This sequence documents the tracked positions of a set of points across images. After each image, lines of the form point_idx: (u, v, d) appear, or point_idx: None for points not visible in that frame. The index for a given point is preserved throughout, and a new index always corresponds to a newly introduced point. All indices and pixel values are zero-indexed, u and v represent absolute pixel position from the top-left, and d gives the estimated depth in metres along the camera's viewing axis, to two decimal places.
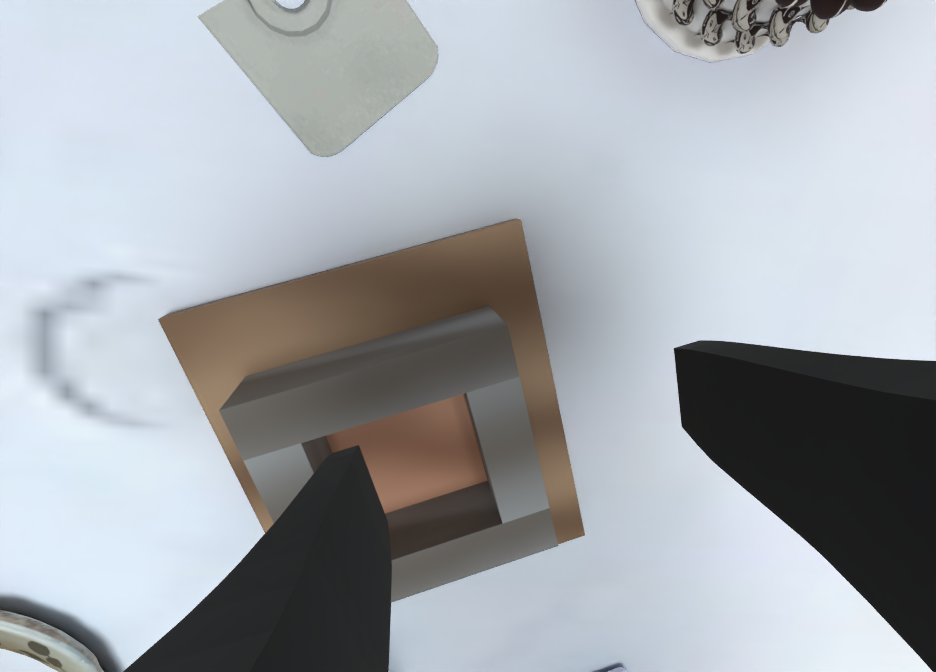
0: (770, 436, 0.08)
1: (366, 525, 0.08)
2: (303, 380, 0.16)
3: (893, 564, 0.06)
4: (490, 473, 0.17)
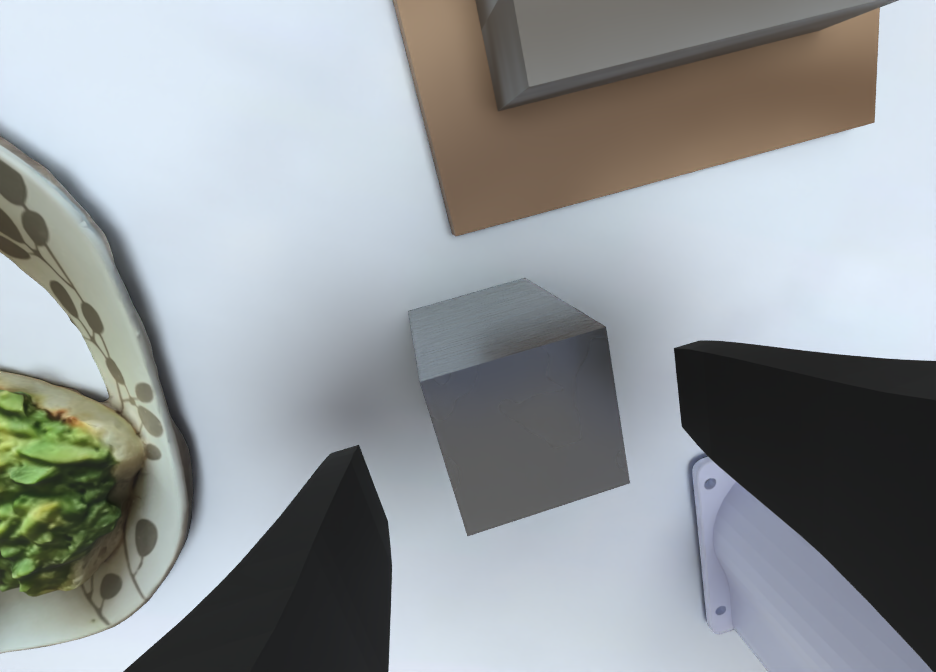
0: (770, 436, 0.08)
1: (366, 525, 0.08)
2: None
3: (893, 564, 0.06)
4: None
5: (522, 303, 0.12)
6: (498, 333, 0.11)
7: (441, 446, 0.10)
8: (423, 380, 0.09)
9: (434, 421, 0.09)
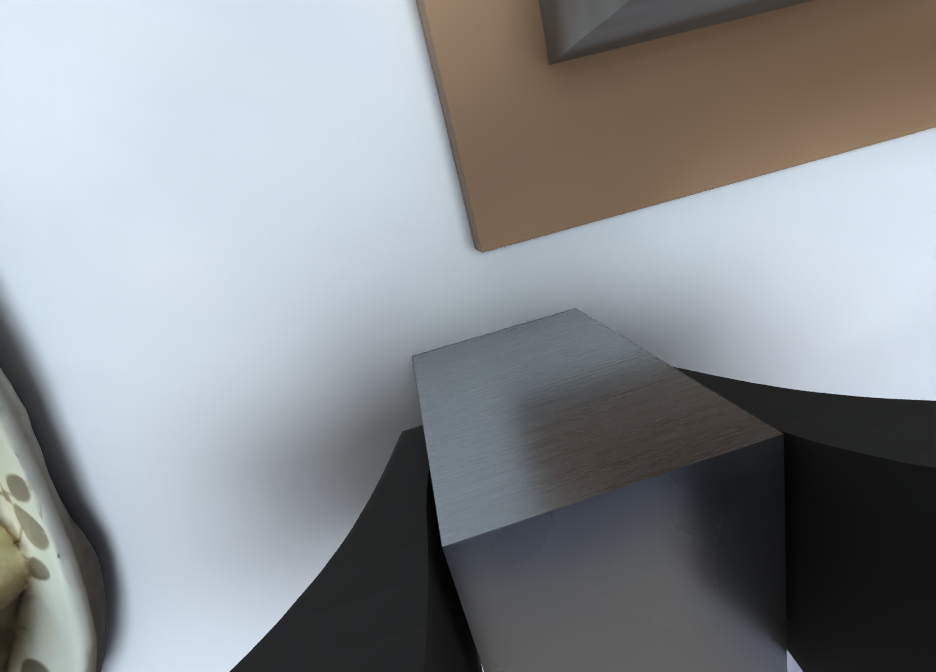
0: None
1: None
2: None
3: (793, 600, 0.06)
4: None
5: (589, 357, 0.08)
6: (568, 423, 0.06)
7: (479, 649, 0.05)
8: (448, 543, 0.05)
9: (466, 609, 0.05)
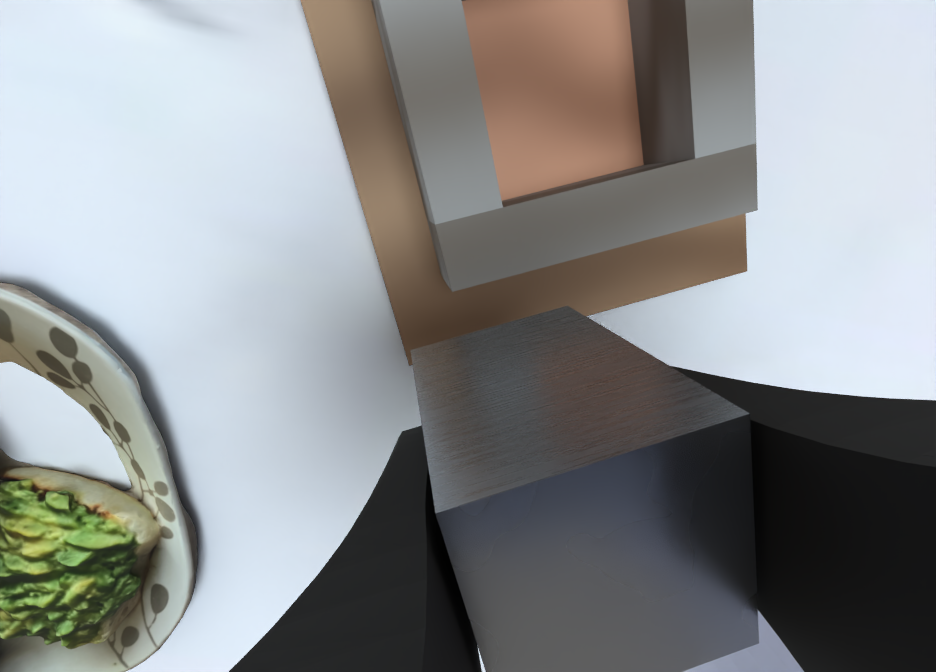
0: None
1: None
2: None
3: (793, 600, 0.06)
4: (691, 66, 0.13)
5: (576, 349, 0.09)
6: (554, 407, 0.07)
7: (469, 612, 0.06)
8: (441, 510, 0.05)
9: (458, 573, 0.06)
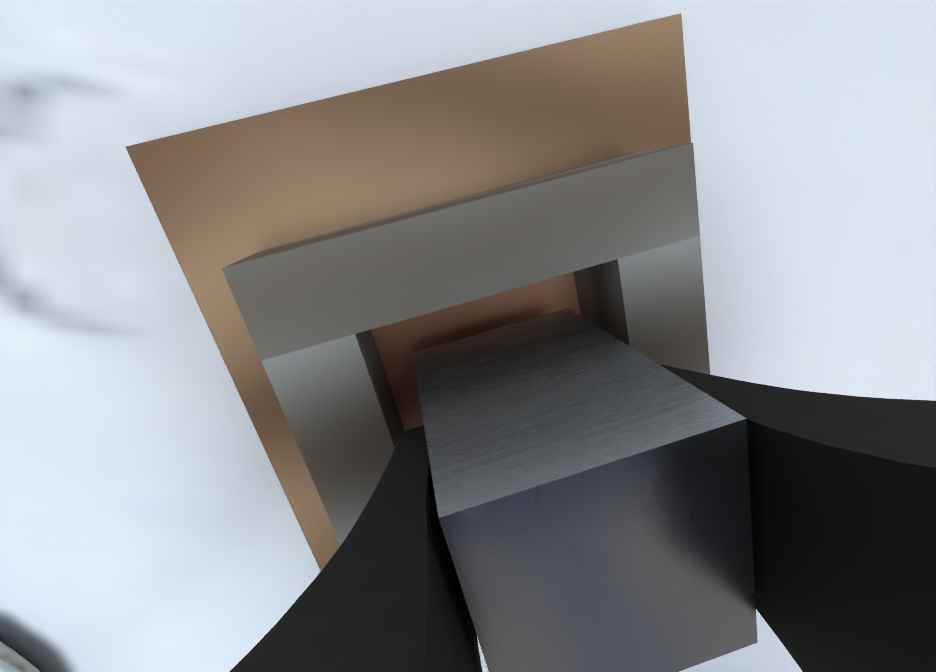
0: None
1: None
2: (360, 229, 0.10)
3: (793, 600, 0.06)
4: None
5: (577, 353, 0.09)
6: (555, 412, 0.07)
7: (472, 613, 0.06)
8: (444, 514, 0.05)
9: (460, 576, 0.06)
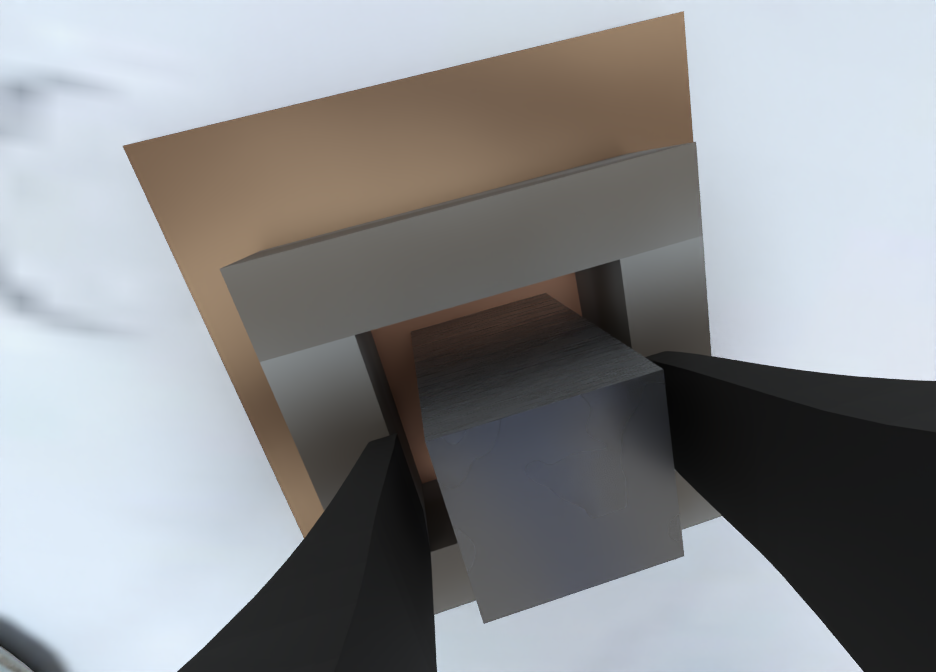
0: (728, 450, 0.08)
1: (409, 511, 0.08)
2: (360, 229, 0.09)
3: (841, 581, 0.06)
4: None
5: (547, 328, 0.10)
6: (521, 370, 0.09)
7: (452, 519, 0.08)
8: (429, 439, 0.07)
9: (443, 489, 0.07)
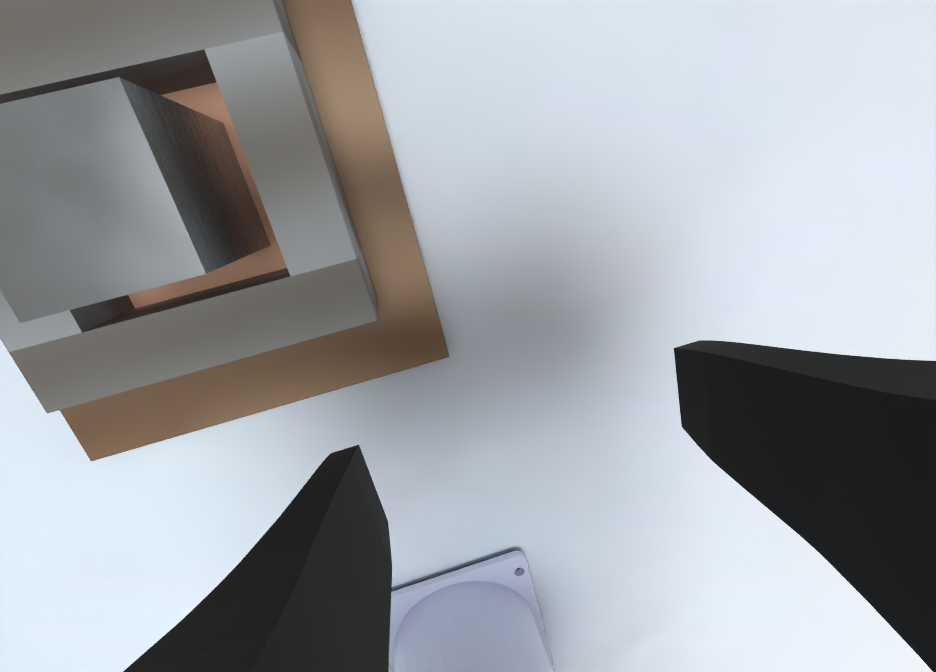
0: (770, 436, 0.08)
1: (366, 525, 0.08)
2: None
3: (893, 563, 0.06)
4: (260, 191, 0.13)
5: None
6: None
7: None
8: None
9: None
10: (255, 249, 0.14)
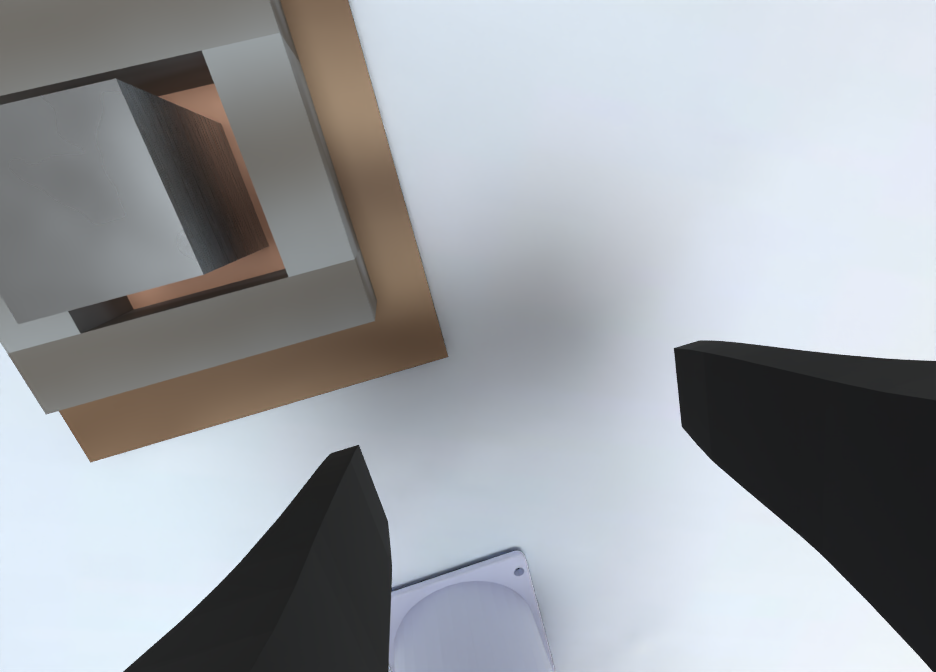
0: (770, 436, 0.08)
1: (366, 525, 0.08)
2: None
3: (893, 563, 0.06)
4: (258, 192, 0.13)
5: None
6: None
7: None
8: None
9: None
10: (253, 250, 0.14)
